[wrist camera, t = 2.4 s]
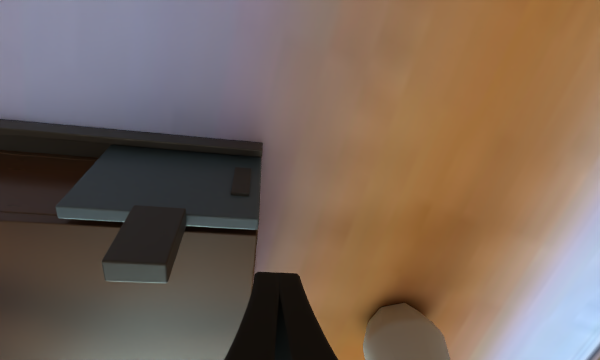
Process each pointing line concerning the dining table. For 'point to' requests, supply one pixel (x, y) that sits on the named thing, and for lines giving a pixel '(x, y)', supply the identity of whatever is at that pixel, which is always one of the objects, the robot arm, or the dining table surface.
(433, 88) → the dining table surface
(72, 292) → the cabinet
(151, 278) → the door
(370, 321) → the salt shaker
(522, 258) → the dining table surface
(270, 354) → the robot arm
